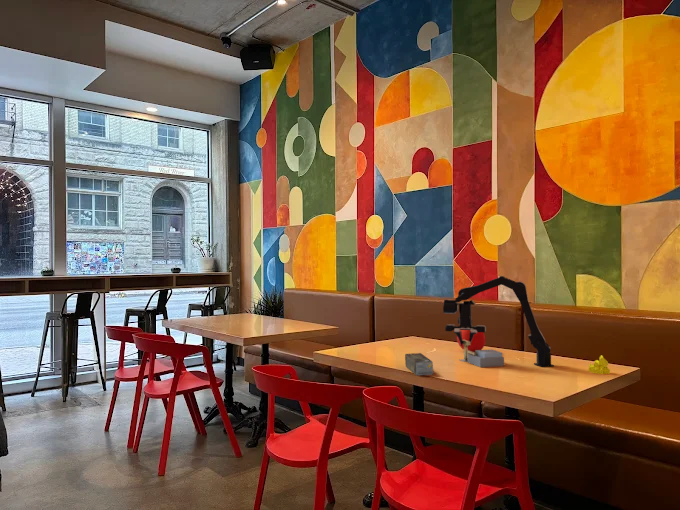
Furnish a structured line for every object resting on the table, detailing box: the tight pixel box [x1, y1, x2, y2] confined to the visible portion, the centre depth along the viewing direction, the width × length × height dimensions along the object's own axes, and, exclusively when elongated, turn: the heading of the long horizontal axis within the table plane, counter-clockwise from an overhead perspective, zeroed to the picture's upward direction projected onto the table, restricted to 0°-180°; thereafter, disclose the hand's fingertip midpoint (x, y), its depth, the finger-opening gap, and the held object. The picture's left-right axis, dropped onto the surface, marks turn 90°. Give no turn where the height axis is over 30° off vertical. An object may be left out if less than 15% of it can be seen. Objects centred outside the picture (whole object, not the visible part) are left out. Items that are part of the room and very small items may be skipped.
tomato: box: [456, 325, 486, 352], centre depth 275 cm, size 16×14×14 cm
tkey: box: [462, 340, 476, 360], centre depth 248 cm, size 13×2×9 cm, turn 10°
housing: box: [459, 353, 505, 368], centre depth 245 cm, size 18×13×4 cm
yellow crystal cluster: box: [588, 354, 611, 375], centre depth 223 cm, size 6×8×8 cm
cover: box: [475, 349, 503, 358], centre depth 241 cm, size 9×9×2 cm
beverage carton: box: [404, 352, 434, 376], centre depth 229 cm, size 8×19×7 cm, turn 6°
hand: (465, 346), depth 251 cm, fingers closed on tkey, 3 cm apart
